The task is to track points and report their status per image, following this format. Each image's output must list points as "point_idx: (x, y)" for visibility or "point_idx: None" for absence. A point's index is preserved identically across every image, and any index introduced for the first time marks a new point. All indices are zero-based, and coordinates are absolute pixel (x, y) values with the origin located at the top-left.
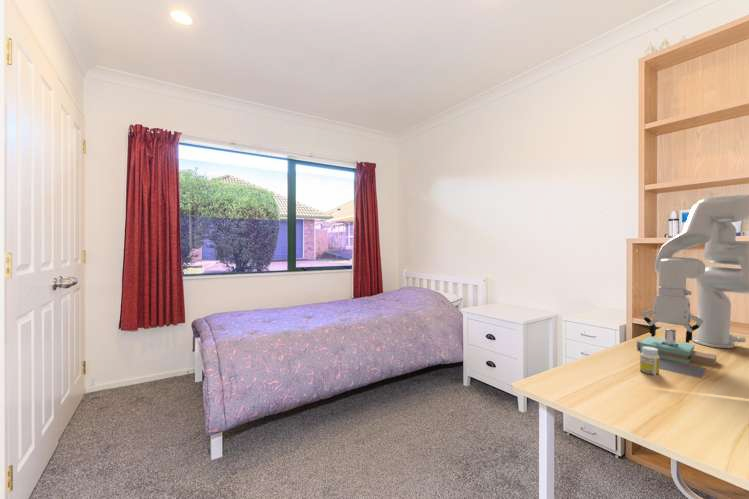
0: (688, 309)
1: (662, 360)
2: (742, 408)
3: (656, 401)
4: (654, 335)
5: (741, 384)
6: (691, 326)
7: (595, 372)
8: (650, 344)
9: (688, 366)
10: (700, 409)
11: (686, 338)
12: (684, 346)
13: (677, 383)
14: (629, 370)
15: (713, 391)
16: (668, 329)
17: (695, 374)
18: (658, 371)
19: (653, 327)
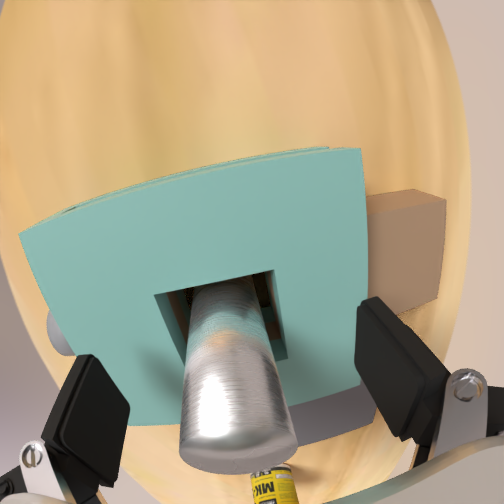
0: None
1: None
2: (408, 443)
3: (315, 497)
4: (115, 390)
5: (443, 359)
6: (483, 418)
7: (204, 500)
8: (170, 421)
9: None
10: (360, 478)
11: (372, 387)
12: (321, 293)
13: (328, 461)
14: (230, 478)
15: (384, 438)
16: (224, 463)
17: (360, 416)
18: (292, 477)
19: (112, 475)
